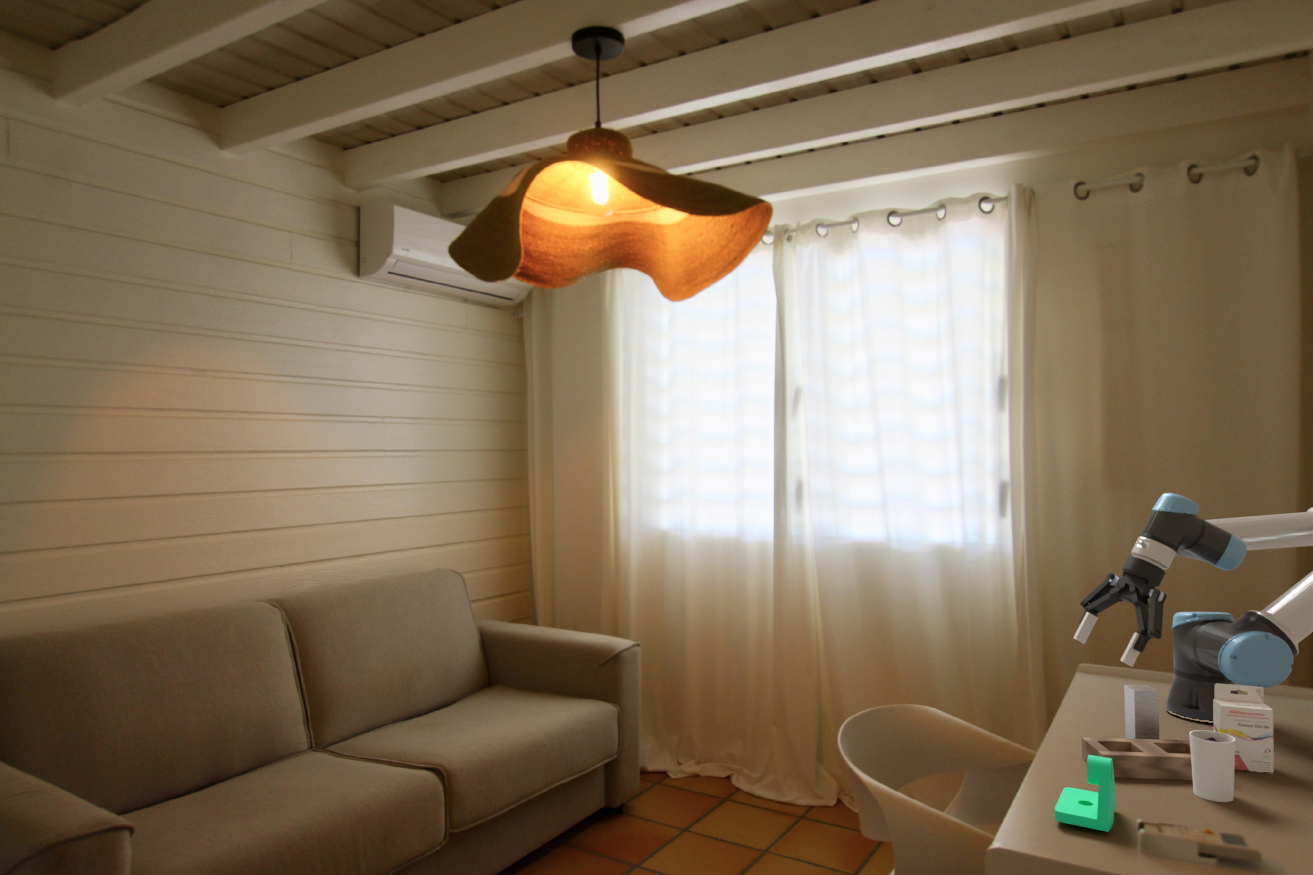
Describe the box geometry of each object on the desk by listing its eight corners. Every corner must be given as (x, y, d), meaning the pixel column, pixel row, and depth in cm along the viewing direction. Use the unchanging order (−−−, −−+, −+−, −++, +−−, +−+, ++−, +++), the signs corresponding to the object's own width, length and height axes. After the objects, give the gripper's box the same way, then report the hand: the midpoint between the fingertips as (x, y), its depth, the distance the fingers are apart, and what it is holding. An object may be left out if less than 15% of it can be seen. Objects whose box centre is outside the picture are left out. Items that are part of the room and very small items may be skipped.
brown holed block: (1192, 761, 163) (1192, 740, 163) (1221, 781, 153) (1220, 758, 153) (1081, 758, 165) (1081, 737, 165) (1103, 776, 155) (1102, 754, 155)
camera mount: (1064, 802, 144) (1063, 740, 144) (1116, 811, 140) (1115, 748, 140) (1053, 827, 134) (1052, 761, 134) (1108, 839, 130) (1107, 770, 130)
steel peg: (1149, 745, 172) (1147, 685, 173) (1159, 752, 168) (1158, 690, 168) (1125, 744, 173) (1124, 684, 173) (1135, 751, 168) (1134, 690, 169)
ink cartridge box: (1220, 768, 159) (1219, 688, 159) (1213, 760, 163) (1211, 682, 164) (1275, 774, 156) (1273, 692, 156) (1266, 765, 161) (1264, 686, 161)
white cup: (1182, 787, 150) (1180, 729, 150) (1221, 788, 149) (1219, 730, 150) (1205, 802, 143) (1204, 742, 143) (1246, 803, 143) (1244, 742, 143)
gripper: (1092, 541, 192) (1048, 625, 192) (1184, 570, 168) (1134, 666, 167) (1116, 555, 194) (1073, 639, 193) (1210, 586, 170) (1161, 681, 169)
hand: (1101, 652), depth 180 cm, fingers open, 13 cm apart
